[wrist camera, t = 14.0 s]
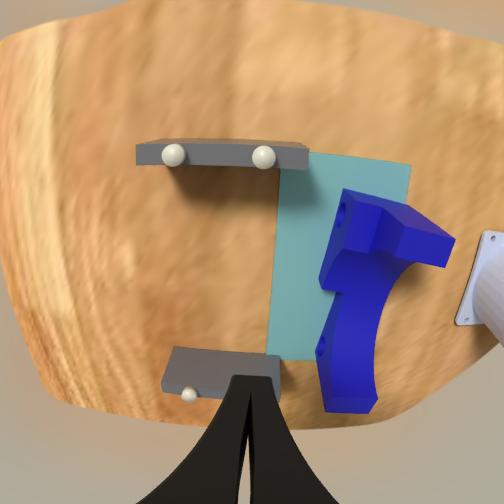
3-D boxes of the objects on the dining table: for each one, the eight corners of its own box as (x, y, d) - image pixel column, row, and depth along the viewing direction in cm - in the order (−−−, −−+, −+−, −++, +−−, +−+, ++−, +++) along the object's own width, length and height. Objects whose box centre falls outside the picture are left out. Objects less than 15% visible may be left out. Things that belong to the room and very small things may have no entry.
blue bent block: (342, 187, 18) (374, 218, 13) (407, 204, 18) (455, 239, 13) (295, 348, 23) (301, 410, 17) (351, 354, 23) (368, 413, 18)
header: (299, 142, 17) (311, 149, 13) (278, 363, 24) (279, 409, 19) (161, 139, 17) (131, 145, 13) (175, 355, 24) (160, 398, 20)
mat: (410, 165, 17) (411, 165, 17) (366, 359, 23) (366, 360, 23) (281, 150, 18) (281, 150, 17) (265, 358, 23) (265, 359, 23)
